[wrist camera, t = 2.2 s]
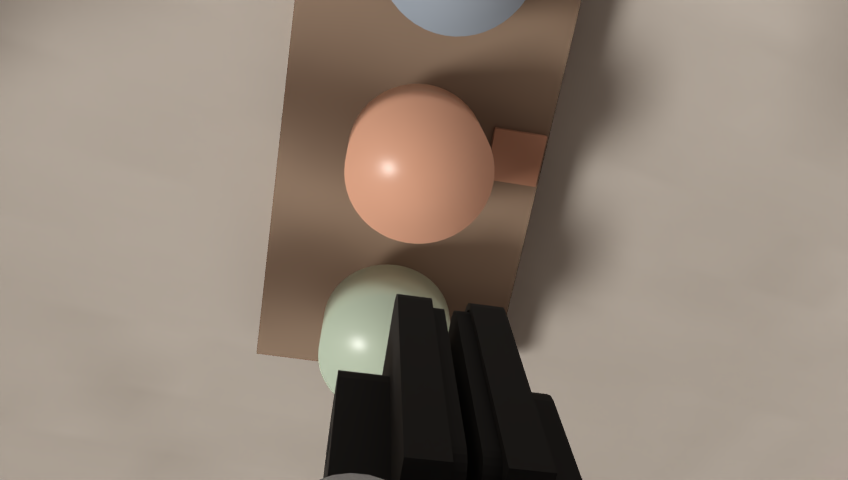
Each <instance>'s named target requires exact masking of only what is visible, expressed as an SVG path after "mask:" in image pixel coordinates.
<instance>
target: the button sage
mask: <svg viewBox="0 0 848 480" xmlns="http://www.w3.org/2000/svg"><path fill="white" fill-rule="evenodd" d="M396 294H403V295H411V296H418V297H426V298H432V302H433V308H440V309H444V310H445V316H446V322H447V328H448V332H449V327H450V316H449V310H448V306H447V303H446V300H445V298H444V296H443V294H442V293H441V291H440V290H439V288H438V287H437V286H436V285H435V284H434V283H433V282H432V281H431V280H430V279H429V278H427V277H426V276H424V275H423V274H421V273H419V272H417V271H415V270H413V269H410V268H407V267H404V266H399V265H389V264H387V265H375V266H370V267H367V268H363V269H361V270H359V271H356V272H355V273H353V274H351V275H349V276H348V277H347V278H345V279H344V280H343V281H342V282H341V283H340V284H339V285H338V286H337V287H336V288H335V290H334V291H333V292H332V294H331V296H330V297H329V299H328V302H327V305H326V308H325V312H324V318H323V324H322V330H321V337H320V343H319V350H318V361H319V367H320V371H321V374H322V376H323V379H324V381H325V382H326V384H327V386H328V387H329V388H330V390H331V391H332V392H333V393H334V394H335V387H336V380H337V374H338V370H343V371H351V372H360V373H369V374H377V375H382V373H383V367H384V361H385V355H386V349H387V343H388V337H389V331H390V325H391V319H392V313H393V307H394V302H395V298H396Z"/></svg>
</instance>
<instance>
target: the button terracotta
mask: <svg viewBox="0 0 848 480" xmlns="http://www.w3.org/2000/svg"><path fill="white" fill-rule="evenodd" d="M494 172H495V166H494V158H493V154H492V150H491V147H490V145H489V142H488V140H487V138H486V136H485V134H484V132H483V130H482V128H481V126H480V124H479V122H478V120H477V118H476V116H475V115H474V113H473V112H472V111H471V109H470V108H469V107H468V106H467V105H466V104H465V103H464V102H463V101H462V100H461V99H460V98H458V97H457V96H456V95H454V94H453V93H451V92H449V91H447V90H445V89H442V88H440V87H437V86H432V85H428V84H407V85H401V86H397V87H394V88H391V89H389V90H387V91H385V92H383V93H381V94H380V95H378V96H376V97H375V98H374V99H373V100H371V101H370V102H369V103H368V104H367V105H366V106H365V107H364V108H363V110H362V111H361V112H360V114H359V115H358V117H357V119H356V120H355V122H354V124H353V127H352V130H351V133H350V137H349V142H348V147H347V153H346V159H345V167H344V177H345V185H346V190H347V193H348V196H349V199H350V201H351V203H352V205H353V207H354V209H355V210H356V212H357V213H358V214H359V216H360V217H361V218H362V219H363V220H364V221H365V223H367V224H368V225H369V226H370V227H371V228H372V229H374V230H375V231H377V232H379V233H380V234H382V235H384V236H386V237H388V238H390V239H393V240H396V241H400V242H405V243H413V244H424V243H432V242H437V241H441V240H444V239H447V238H449V237H451V236H454V235H455V234H457V233H459V232H460V231H462V230H463V229H465V228H466V227H467V226H469V225H470V224H471V223H472V222H473V221H474V220H475V219H476V218H477V217H478V215H479V214H480V213H481V212H482V210H483V208H484V207H485V205H486V203H487V201H488V199H489V197H490V194H491V191H492V187H493V183H494Z"/></svg>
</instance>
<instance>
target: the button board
mask: <svg viewBox="0 0 848 480" xmlns="http://www.w3.org/2000/svg"><path fill="white" fill-rule="evenodd" d="M580 4H581V0H525V1H524V3H523V4H522V5H521V7H520V8H519V9H518V10H517V11H516V12H515V13H514V14H513V15H512V16H511V17H509V18H508V19H507V20H506V21H504V22H503V23H501V24H500V25H498V26H496V27H494V28H492V29H490V30H488V31H486V32H482V33H479V34H476V35H470V36H457V37H454V36H445V35H440V34H436V33H433V32H431V31H428V30H425V29H423V28H422V27H420V26H418V25H416V24H415V23H413V22H412V21H411V20H409V19H408V18H407V17H406V16H405V15H404V14H402V13H401V12H400V11H399V10H398V8H397V7H396V6H395V4H394V3H393V2H392V0H295V3H294V12H293V21H292V30H291V40H290V49H289V58H288V67H287V77H286V86H285V95H284V104H283V114H282V123H281V132H280V141H279V151H278V160H277V169H276V178H275V188H274V197H273V206H272V215H271V225H270V234H269V243H268V252H267V262H266V271H265V280H264V289H263V299H262V308H261V317H260V326H259V336H258V345H257V354H265V355H273V356H281V357H289V358H297V359H305V360H312V361H318V350H319V343H320V337H321V330H322V324H323V318H324V312H325V308H326V305H327V302H328V299H329V297H330V296H331V294H332V292H333V291H334V290H335V288H336V287H337V286H338V285H339V284H340V283H341V282H342V281H343V280H344V279H345V278H347V277H348V276H349V275H351V274H353V273H355V272H356V271H359V270H361V269H363V268H367V267H370V266H375V265H387V264H389V265H399V266H404V267H407V268H410V269H413V270H415V271H417V272H419V273H421V274H423V275H424V276H426V277H427V278H429V279H430V280H431V281H432V282H433V283H434V284H435V285H436V286H437V287H438V288H439V290H440V291H441V293H442V294H443V296H444V298H445V300H446V303H447V306H448V310H449V316H450V322H451V317H452V314H453V312H454V310H456V311H464V312H465V309H466V306H467V304H468V303H473V304H481V305H489V306H497V307H504V309H505V312H506V315H507V311H508V307H509V303H510V298H511V294H512V290H513V286H514V282H515V277H516V273H517V269H518V265H519V261H520V256H521V252H522V248H523V244H524V240H525V235H526V231H527V227H528V223H529V218H530V214H531V210H532V206H533V202H534V197H535V193H536V189H537V185H538V181H539V176H540V172H541V168H542V164H543V160H544V155H545V151H546V147H547V143H548V139H549V134H550V130H551V126H552V122H553V117H554V113H555V109H556V105H557V101H558V96H559V92H560V88H561V84H562V80H563V75H564V71H565V67H566V63H567V59H568V54H569V50H570V46H571V42H572V37H573V33H574V29H575V25H576V21H577V16H578V12H579V8H580ZM407 84H428V85H432V86H437V87H440V88H442V89H445V90H447V91H449V92H451V93H453V94H454V95H456V96H457V97H458V98H460V99H461V100H462V101H463V102H464V103H465V104H466V105H467V106H468V107H469V108H470V109H471V111H472V112H473V113H474V115H475V116H476V118H477V120H478V122H479V124H480V126H481V128H482V130H483V132H484V134H485V136H486V138H487V140H488V142H489V145H490V147H491V150H492V154H493V158H494V166H495V172H494V183H493V187H492V191H491V194H490V197H489V199H488V201H487V203H486V205H485V207H484V208H483V210H482V212H481V213H480V214H479V215H478V217H477V218H476V219H475V220H474V221H473V222H472V223H471V224H470V225H469V226H467V227H466V228H465V229H463V230H462V231H460V232H459V233H457V234H455V235H454V236H451V237H449V238H447V239H444V240H441V241H437V242H432V243H424V244H413V243H405V242H400V241H396V240H393V239H390V238H388V237H386V236H384V235H382V234H380V233H379V232H377V231H375V230H374V229H372V228H371V227H370V226H369V225H368V224H367V223H365V221H364V220H363V219H362V218H361V217H360V216H359V214H358V213H357V212H356V210H355V209H354V207H353V205H352V203H351V201H350V199H349V196H348V193H347V190H346V185H345V177H344V167H345V159H346V153H347V147H348V142H349V137H350V133H351V130H352V127H353V124H354V122H355V120H356V119H357V117H358V115H359V114H360V112H361V111H362V110H363V108H364V107H365V106H366V105H367V104H368V103H369V102H370V101H371V100H373V99H374V98H375V97H376V96H378V95H380V94H381V93H383V92H385V91H387V90H389V89H391V88H394V87H397V86H401V85H407Z"/></svg>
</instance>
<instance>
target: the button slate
mask: <svg viewBox="0 0 848 480" xmlns="http://www.w3.org/2000/svg"><path fill="white" fill-rule="evenodd" d="M524 1H525V0H392V2H393V3H394V4H395V6H396V7H397V8H398V10H399V11H400V12H401V13H402V14H404V15H405V16H406V17H407V18H408V19H409V20H411V21H412V22H413V23H415V24H416V25H418V26H420V27H422V28H423V29H425V30H428V31H431V32H433V33H436V34H440V35H445V36H454V37H457V36H470V35H476V34H479V33H482V32H486V31H488V30H490V29H492V28H494V27H496V26H498V25H500V24H501V23H503V22H504V21H506V20H507V19H508V18H509V17H511V16H512V15H513V14H514V13H515V12H516V11H517V10H518V9H519V8H520V7H521V5H522V4H523V3H524Z"/></svg>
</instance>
